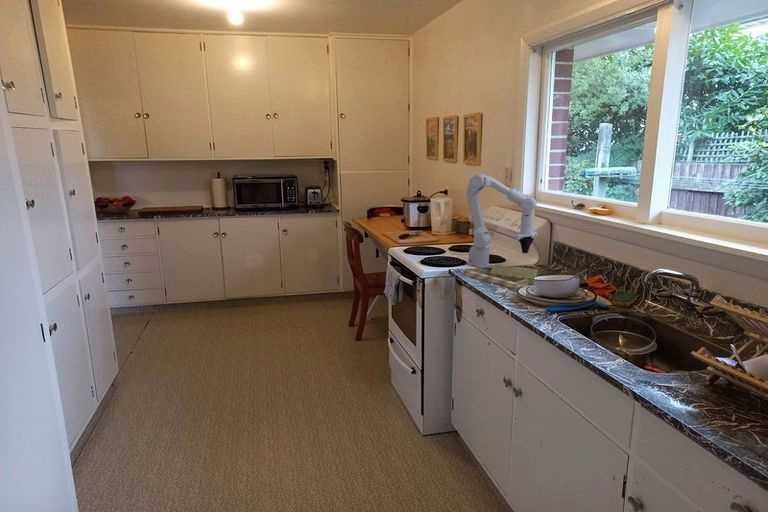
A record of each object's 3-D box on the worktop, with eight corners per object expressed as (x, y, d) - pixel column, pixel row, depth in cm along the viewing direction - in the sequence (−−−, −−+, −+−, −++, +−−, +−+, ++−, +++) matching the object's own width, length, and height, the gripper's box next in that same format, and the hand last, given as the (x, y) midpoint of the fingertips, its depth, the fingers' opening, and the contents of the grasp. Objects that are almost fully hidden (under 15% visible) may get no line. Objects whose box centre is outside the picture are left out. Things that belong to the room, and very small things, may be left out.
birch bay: (463, 274, 214) (464, 270, 214) (478, 271, 220) (478, 267, 220) (514, 288, 194) (514, 284, 194) (528, 284, 200) (528, 279, 200)
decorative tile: (492, 270, 224) (493, 263, 223) (537, 275, 217) (538, 267, 216) (486, 281, 207) (487, 273, 206) (535, 286, 200) (535, 277, 199)
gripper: (525, 226, 210) (523, 256, 213) (544, 223, 219) (541, 252, 222) (512, 224, 215) (509, 253, 218) (530, 221, 224) (528, 249, 227)
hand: (524, 252), depth 220 cm, fingers closed
